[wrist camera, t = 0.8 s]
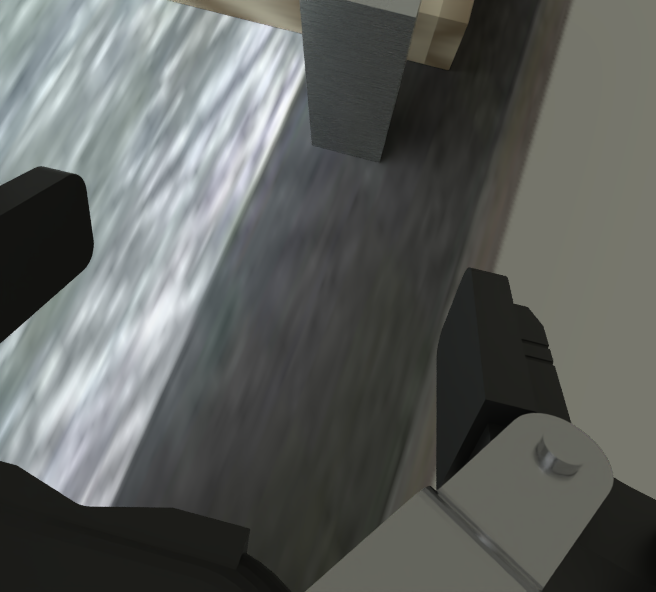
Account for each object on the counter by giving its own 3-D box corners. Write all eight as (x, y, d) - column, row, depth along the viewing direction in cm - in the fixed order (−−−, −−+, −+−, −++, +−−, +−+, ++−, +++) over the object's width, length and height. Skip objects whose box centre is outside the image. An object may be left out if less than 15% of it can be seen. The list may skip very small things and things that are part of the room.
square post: (311, 145, 28) (298, -12, 16) (330, 82, 29) (330, -115, 17) (379, 162, 28) (415, 17, 16) (396, 98, 28) (444, -88, 17)
